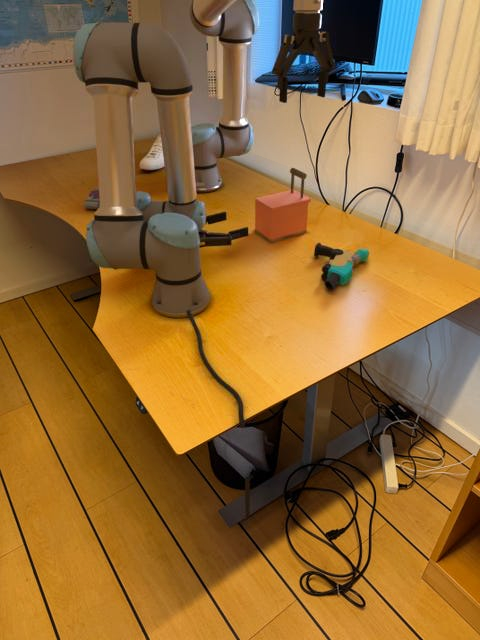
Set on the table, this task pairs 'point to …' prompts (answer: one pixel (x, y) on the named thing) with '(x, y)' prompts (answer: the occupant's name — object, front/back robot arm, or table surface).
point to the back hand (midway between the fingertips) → (302, 99)
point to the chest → (280, 222)
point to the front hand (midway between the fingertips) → (236, 223)
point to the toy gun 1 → (93, 200)
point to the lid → (286, 195)
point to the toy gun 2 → (339, 264)
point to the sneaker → (153, 157)
